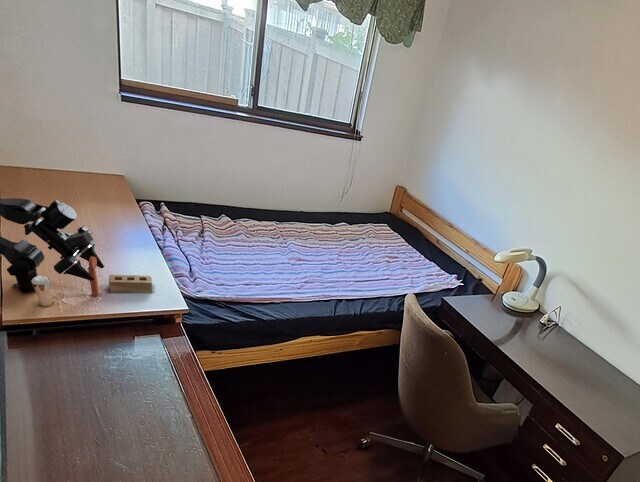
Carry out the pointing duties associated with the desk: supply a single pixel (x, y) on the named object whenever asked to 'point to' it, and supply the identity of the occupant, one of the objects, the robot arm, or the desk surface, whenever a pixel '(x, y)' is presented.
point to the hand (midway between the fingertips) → (98, 273)
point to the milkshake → (42, 290)
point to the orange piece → (93, 273)
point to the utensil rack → (130, 283)
